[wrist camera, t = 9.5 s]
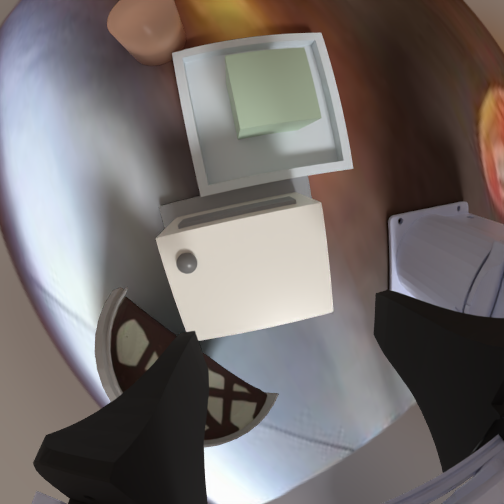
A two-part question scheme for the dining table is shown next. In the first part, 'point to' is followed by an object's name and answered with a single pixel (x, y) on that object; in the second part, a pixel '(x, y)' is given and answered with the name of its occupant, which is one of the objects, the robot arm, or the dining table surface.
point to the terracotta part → (148, 29)
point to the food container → (150, 349)
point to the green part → (271, 91)
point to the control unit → (247, 258)
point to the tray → (265, 146)
